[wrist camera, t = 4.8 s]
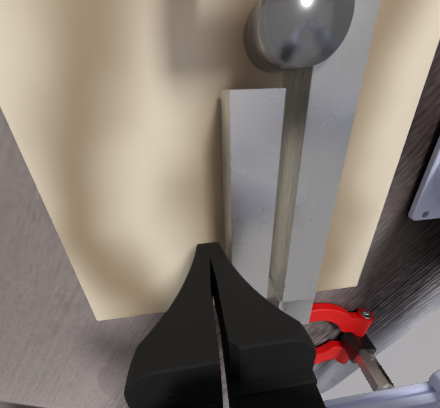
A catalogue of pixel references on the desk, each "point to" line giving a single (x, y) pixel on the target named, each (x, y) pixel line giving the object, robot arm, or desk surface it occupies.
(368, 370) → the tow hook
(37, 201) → the desk surface
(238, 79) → the board
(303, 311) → the tong base
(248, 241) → the bar
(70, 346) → the desk surface
